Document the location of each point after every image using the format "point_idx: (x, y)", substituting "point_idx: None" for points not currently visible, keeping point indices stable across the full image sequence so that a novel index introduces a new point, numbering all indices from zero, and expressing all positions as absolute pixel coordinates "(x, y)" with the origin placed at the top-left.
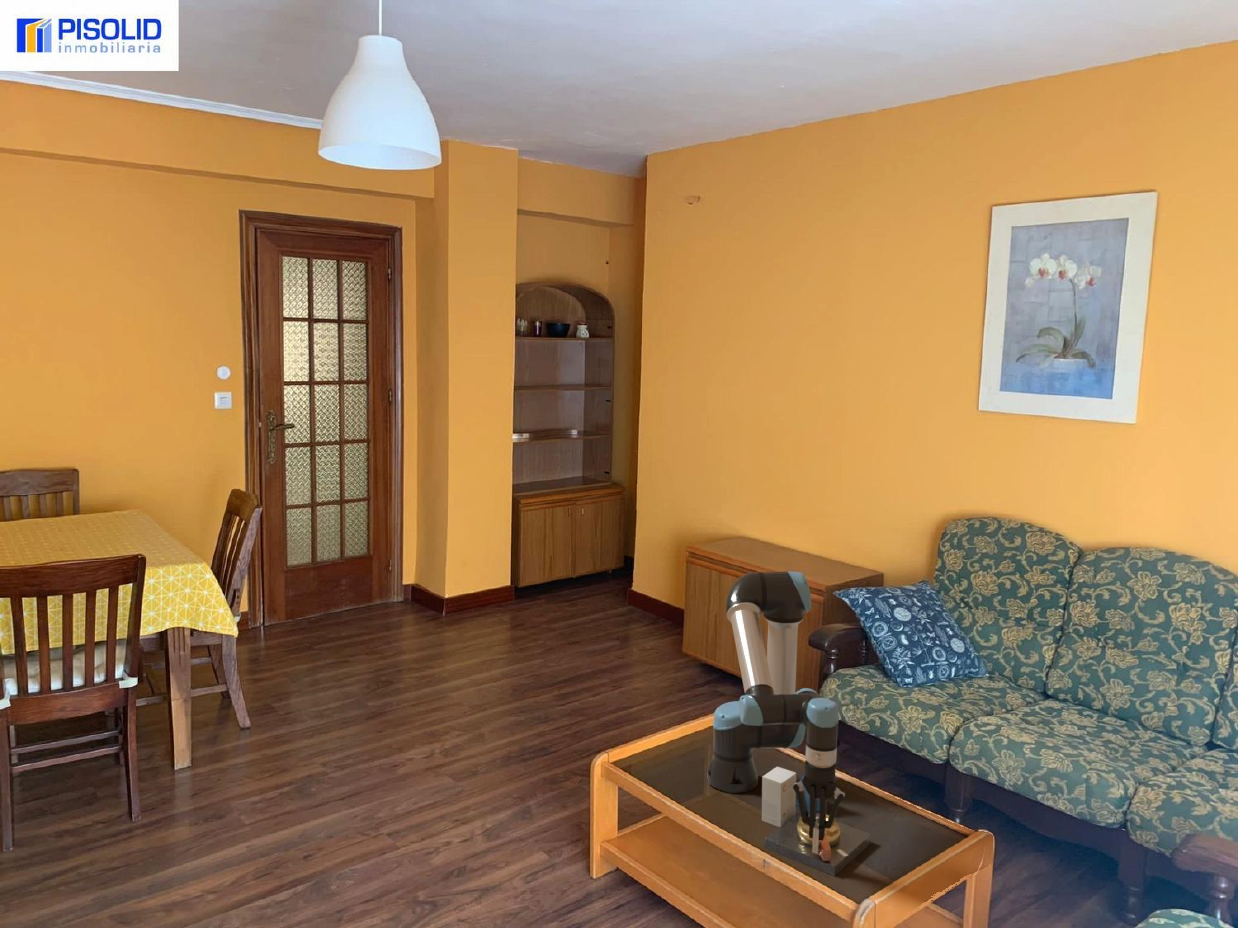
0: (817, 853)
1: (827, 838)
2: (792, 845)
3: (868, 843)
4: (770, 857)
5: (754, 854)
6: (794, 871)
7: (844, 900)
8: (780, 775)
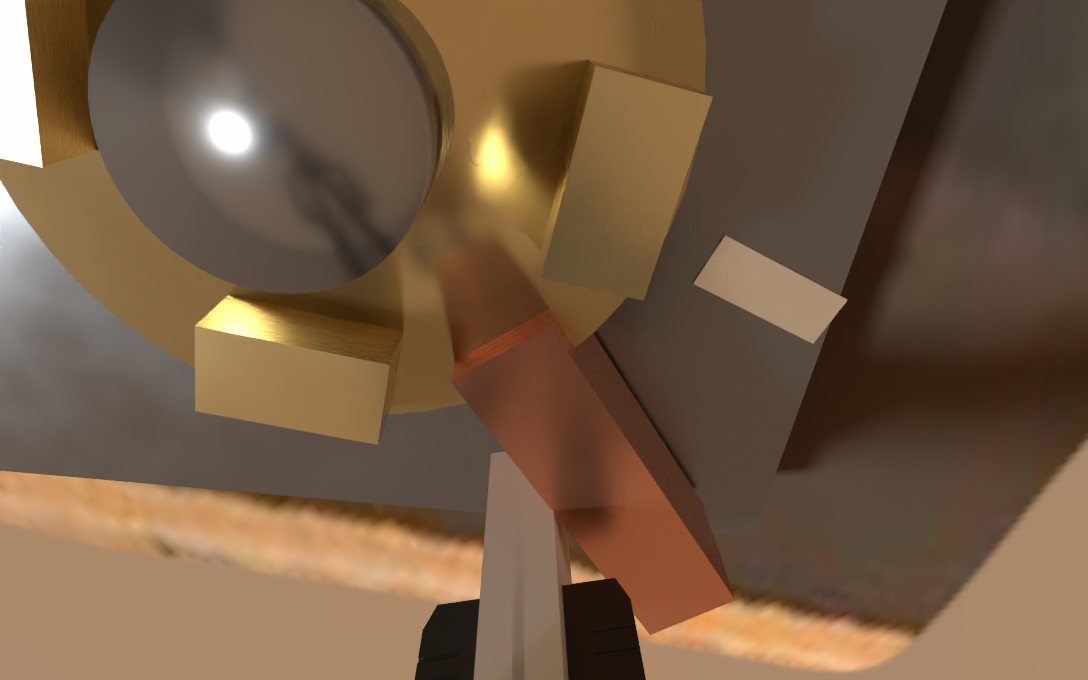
0: (567, 535)
1: (589, 330)
2: (254, 436)
3: None
4: (180, 505)
5: (59, 530)
6: (436, 562)
7: (853, 654)
8: None
